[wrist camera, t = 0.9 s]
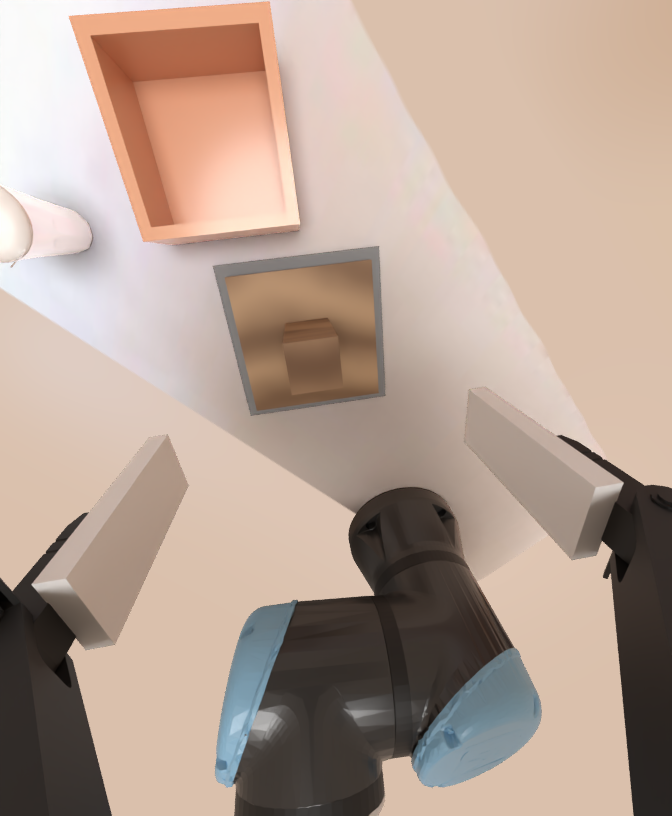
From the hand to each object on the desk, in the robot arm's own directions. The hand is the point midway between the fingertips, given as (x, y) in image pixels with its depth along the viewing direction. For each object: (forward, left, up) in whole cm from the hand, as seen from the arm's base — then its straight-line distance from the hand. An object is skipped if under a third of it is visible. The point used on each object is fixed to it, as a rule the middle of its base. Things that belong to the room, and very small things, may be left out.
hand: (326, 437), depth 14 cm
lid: (0, 0, -20) cm, 20 cm away
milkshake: (+11, +18, -21) cm, 29 cm away
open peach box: (+15, +5, -20) cm, 26 cm away
